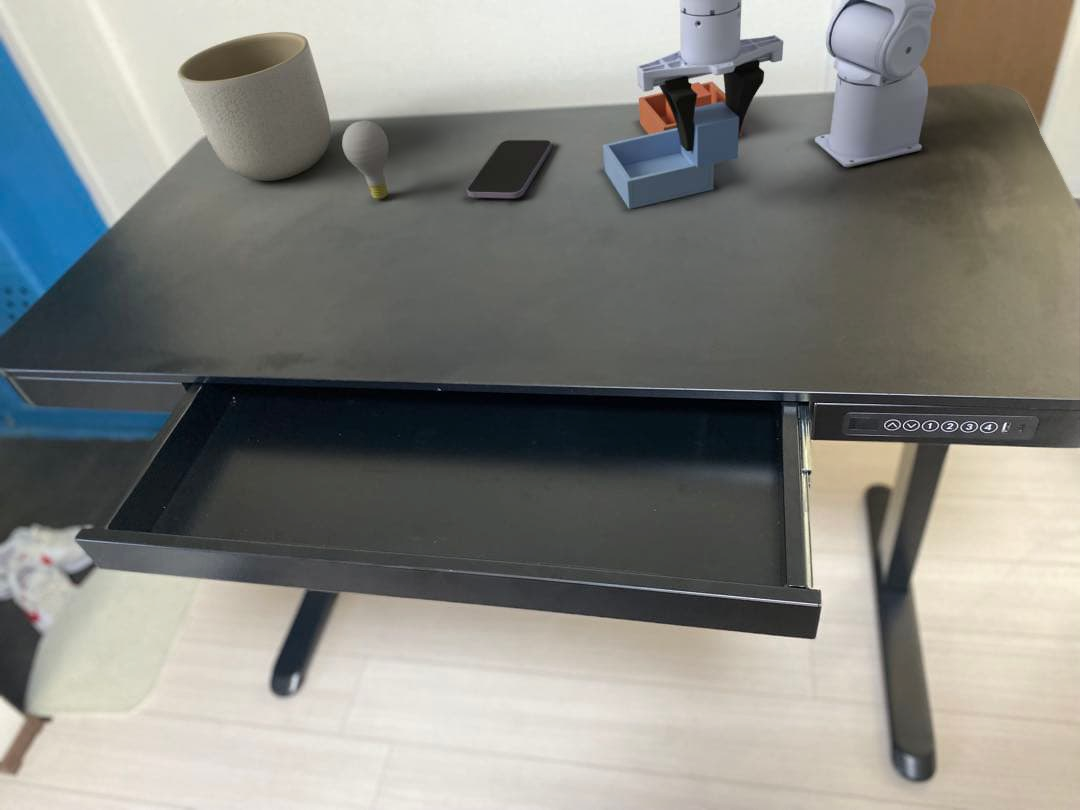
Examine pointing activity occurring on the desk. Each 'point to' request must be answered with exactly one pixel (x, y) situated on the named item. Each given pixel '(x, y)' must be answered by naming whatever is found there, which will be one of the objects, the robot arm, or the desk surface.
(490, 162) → the smartphone
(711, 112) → the slate-blue block
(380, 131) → the light bulb
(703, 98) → the terracotta block
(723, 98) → the terracotta bin
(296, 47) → the planter
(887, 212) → the desk surface
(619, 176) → the slate-blue bin
